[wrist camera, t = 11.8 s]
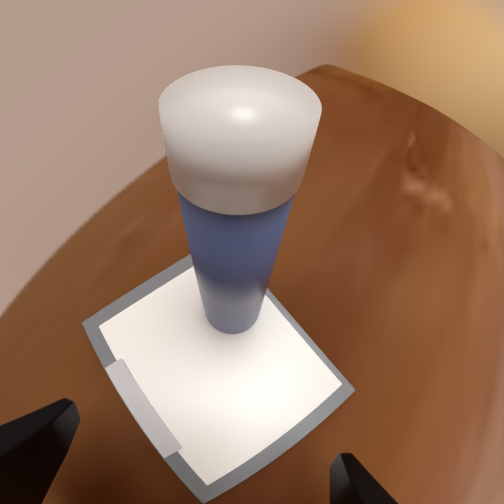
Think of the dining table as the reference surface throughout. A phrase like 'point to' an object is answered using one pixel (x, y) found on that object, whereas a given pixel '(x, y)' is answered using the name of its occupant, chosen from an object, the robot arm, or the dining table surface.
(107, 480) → the dining table surface
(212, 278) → the marker
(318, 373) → the clipboard
